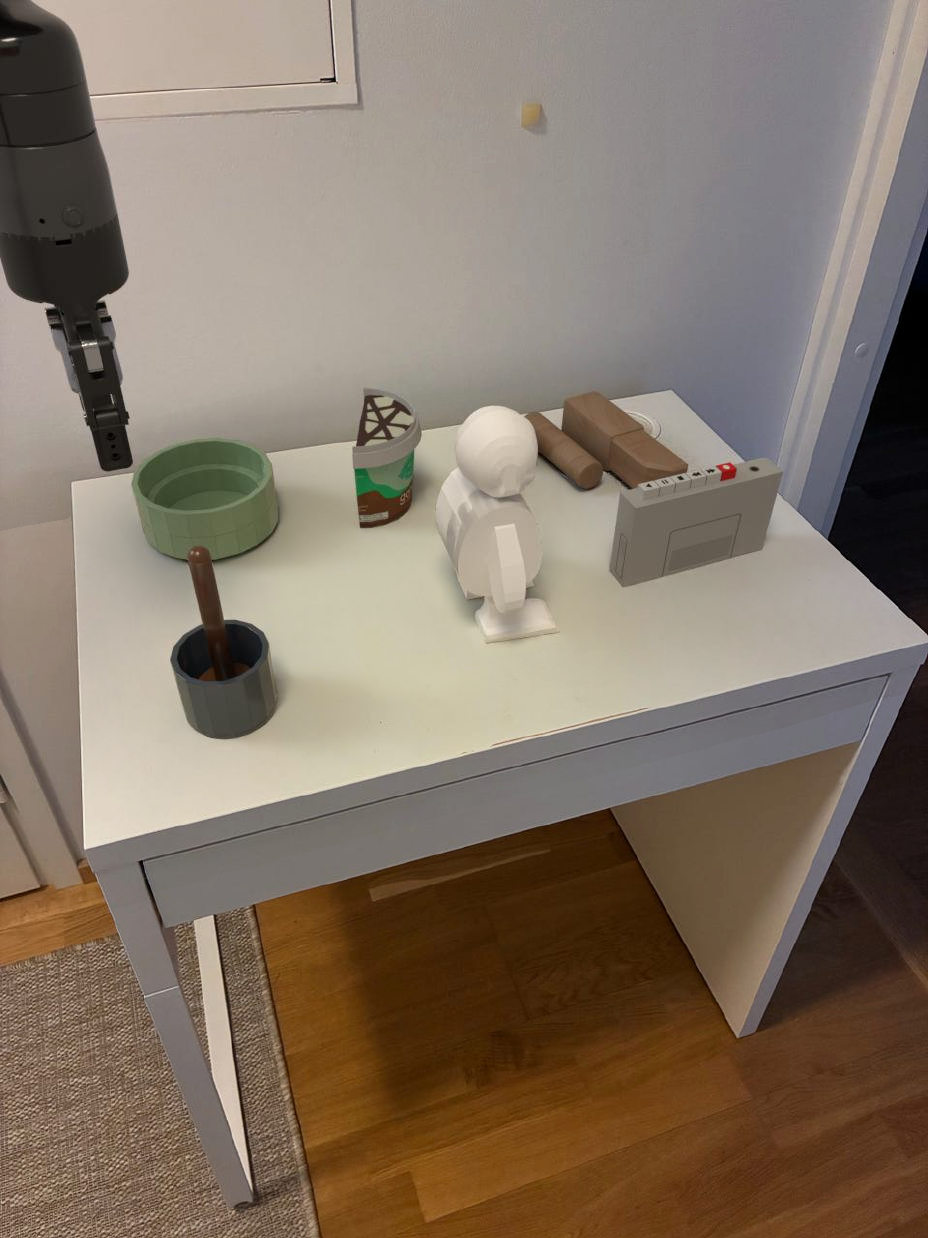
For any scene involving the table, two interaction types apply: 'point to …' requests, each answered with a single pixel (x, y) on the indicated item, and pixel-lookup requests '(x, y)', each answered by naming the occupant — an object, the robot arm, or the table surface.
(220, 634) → the brown peg stand
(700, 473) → the cassette player
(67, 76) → the robot arm
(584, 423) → the wooden block set
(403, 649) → the table surface
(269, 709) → the crock
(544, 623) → the toy robot
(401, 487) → the food container
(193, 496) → the bowl
